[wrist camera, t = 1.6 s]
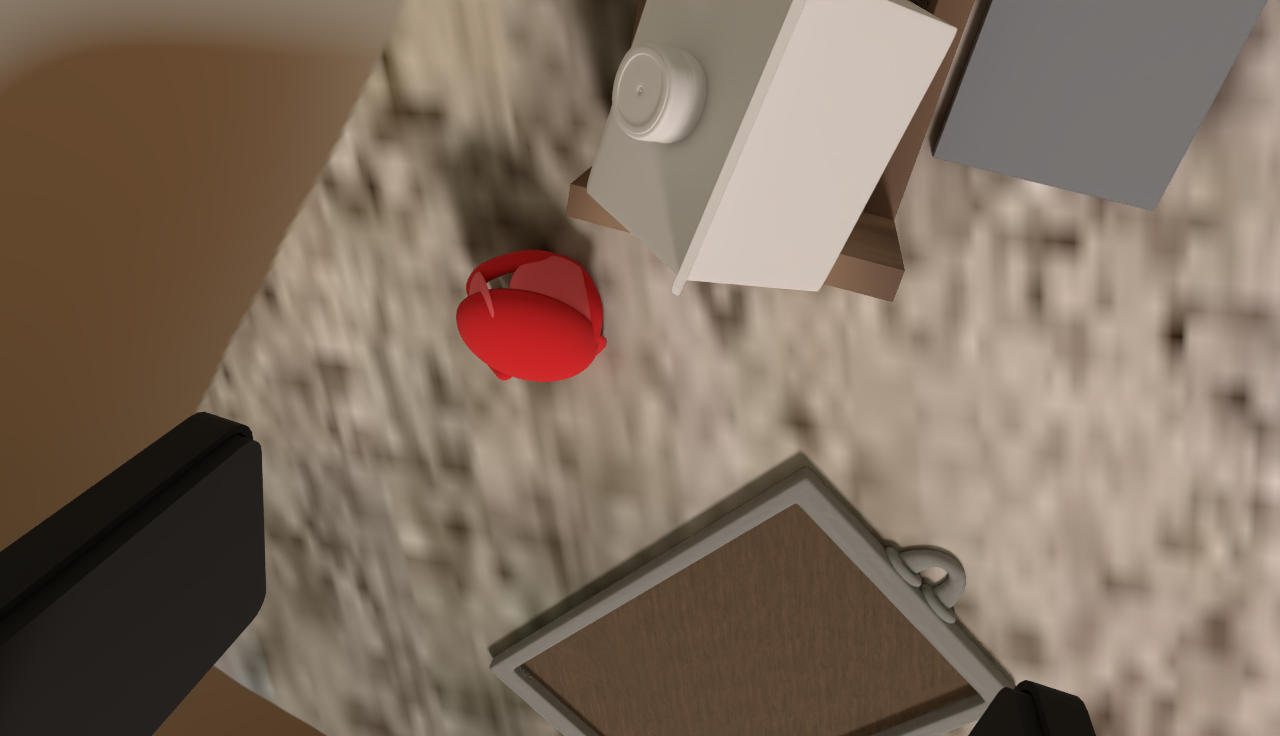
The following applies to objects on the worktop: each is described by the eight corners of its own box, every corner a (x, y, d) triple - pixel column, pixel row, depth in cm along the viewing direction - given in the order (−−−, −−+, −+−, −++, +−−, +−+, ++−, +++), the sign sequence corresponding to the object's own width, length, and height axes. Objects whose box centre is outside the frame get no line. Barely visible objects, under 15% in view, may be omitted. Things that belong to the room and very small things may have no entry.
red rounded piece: (418, 294, 38) (449, 410, 37) (475, 238, 34) (512, 367, 33) (550, 288, 44) (580, 390, 43) (613, 240, 39) (649, 351, 38)
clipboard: (486, 669, 53) (847, 450, 39) (495, 651, 55) (847, 434, 41) (675, 835, 57) (1066, 688, 43) (679, 814, 59) (1059, 665, 45)
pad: (1277, -34, 28) (1285, -34, 27) (1149, 207, 32) (1154, 211, 32) (1022, -87, 29) (1026, -88, 28) (931, 154, 33) (933, 157, 33)
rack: (1024, -173, 28) (1097, -225, 20) (880, 225, 35) (892, 302, 27) (696, -239, 29) (644, -311, 21) (624, 160, 36) (565, 215, 28)
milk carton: (908, -1, 31) (989, 46, 14) (826, 166, 34) (816, 356, 18) (743, -70, 31) (635, -103, 15) (678, 103, 35) (533, 233, 18)
